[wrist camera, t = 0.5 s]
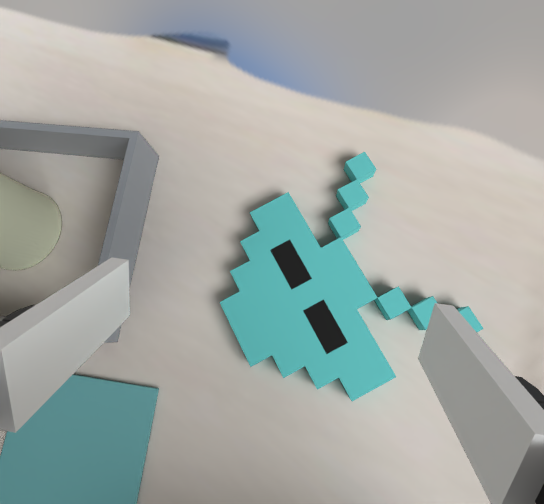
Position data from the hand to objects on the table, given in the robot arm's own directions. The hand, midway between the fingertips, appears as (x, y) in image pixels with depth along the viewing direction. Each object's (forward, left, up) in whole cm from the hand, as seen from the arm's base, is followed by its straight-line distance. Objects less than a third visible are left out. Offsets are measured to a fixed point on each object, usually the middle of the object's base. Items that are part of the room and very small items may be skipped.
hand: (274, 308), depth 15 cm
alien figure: (+4, -3, -20) cm, 21 cm away
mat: (-15, +19, -20) cm, 31 cm away
